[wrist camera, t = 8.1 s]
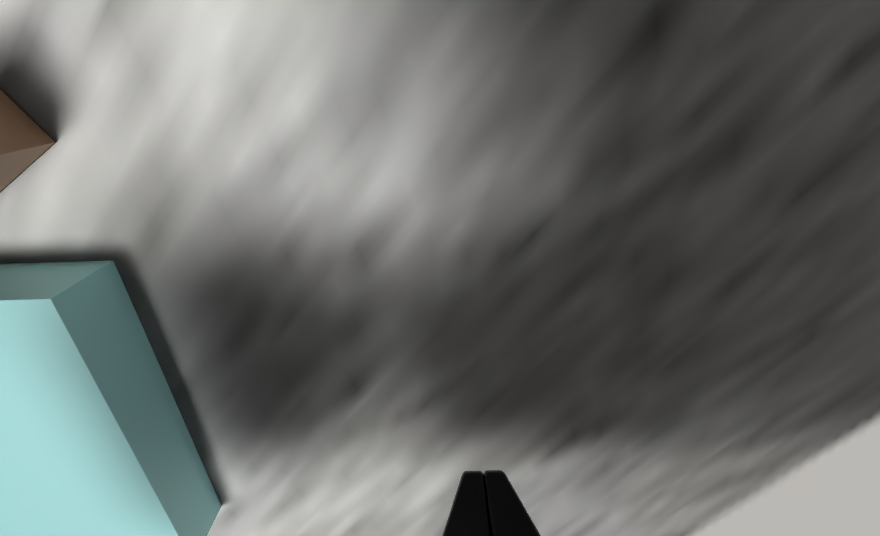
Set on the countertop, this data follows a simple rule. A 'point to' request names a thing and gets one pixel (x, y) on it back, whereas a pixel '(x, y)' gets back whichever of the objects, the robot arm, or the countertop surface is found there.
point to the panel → (89, 413)
